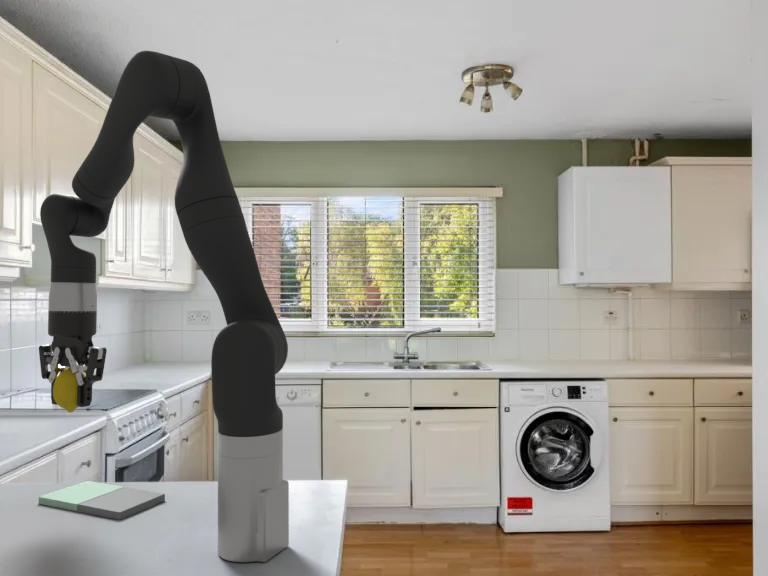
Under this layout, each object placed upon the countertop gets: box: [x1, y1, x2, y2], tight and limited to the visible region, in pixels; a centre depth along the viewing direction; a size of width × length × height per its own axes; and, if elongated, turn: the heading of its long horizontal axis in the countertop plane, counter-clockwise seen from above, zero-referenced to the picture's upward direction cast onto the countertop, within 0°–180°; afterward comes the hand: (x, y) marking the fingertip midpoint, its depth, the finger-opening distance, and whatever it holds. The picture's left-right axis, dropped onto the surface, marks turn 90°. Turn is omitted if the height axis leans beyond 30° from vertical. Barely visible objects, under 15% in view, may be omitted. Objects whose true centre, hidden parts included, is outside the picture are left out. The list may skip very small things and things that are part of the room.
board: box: [38, 480, 166, 520], centre depth 104 cm, size 20×10×1 cm, turn 66°
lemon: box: [53, 367, 86, 413], centre depth 101 cm, size 6×6×8 cm
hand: (71, 404), depth 101 cm, fingers closed on lemon, 5 cm apart
